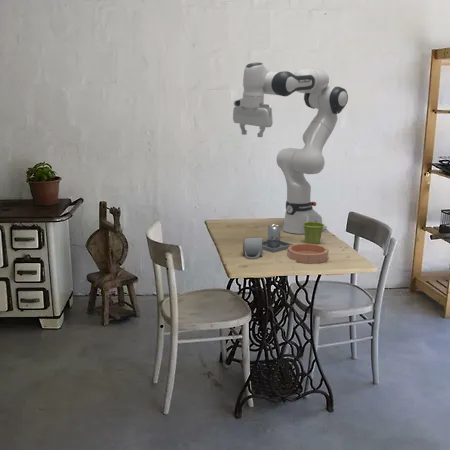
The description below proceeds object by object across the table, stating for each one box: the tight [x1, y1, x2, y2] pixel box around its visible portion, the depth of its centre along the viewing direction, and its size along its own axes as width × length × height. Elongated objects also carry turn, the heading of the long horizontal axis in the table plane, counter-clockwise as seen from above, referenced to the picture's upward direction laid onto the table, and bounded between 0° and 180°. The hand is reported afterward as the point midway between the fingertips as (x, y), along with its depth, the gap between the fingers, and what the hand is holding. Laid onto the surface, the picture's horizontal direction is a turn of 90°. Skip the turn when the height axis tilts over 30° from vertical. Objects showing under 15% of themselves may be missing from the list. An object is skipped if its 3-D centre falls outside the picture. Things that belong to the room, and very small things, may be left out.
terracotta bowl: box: [286, 243, 329, 264], centre depth 234 cm, size 16×16×4 cm
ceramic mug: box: [242, 237, 264, 261], centre depth 234 cm, size 11×8×8 cm
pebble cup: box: [267, 223, 282, 249], centre depth 245 cm, size 5×5×10 cm
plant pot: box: [303, 222, 325, 245], centre depth 253 cm, size 9×9×9 cm
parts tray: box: [263, 239, 295, 253], centre depth 246 cm, size 12×12×2 cm
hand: (251, 135), depth 245 cm, fingers open, 8 cm apart
